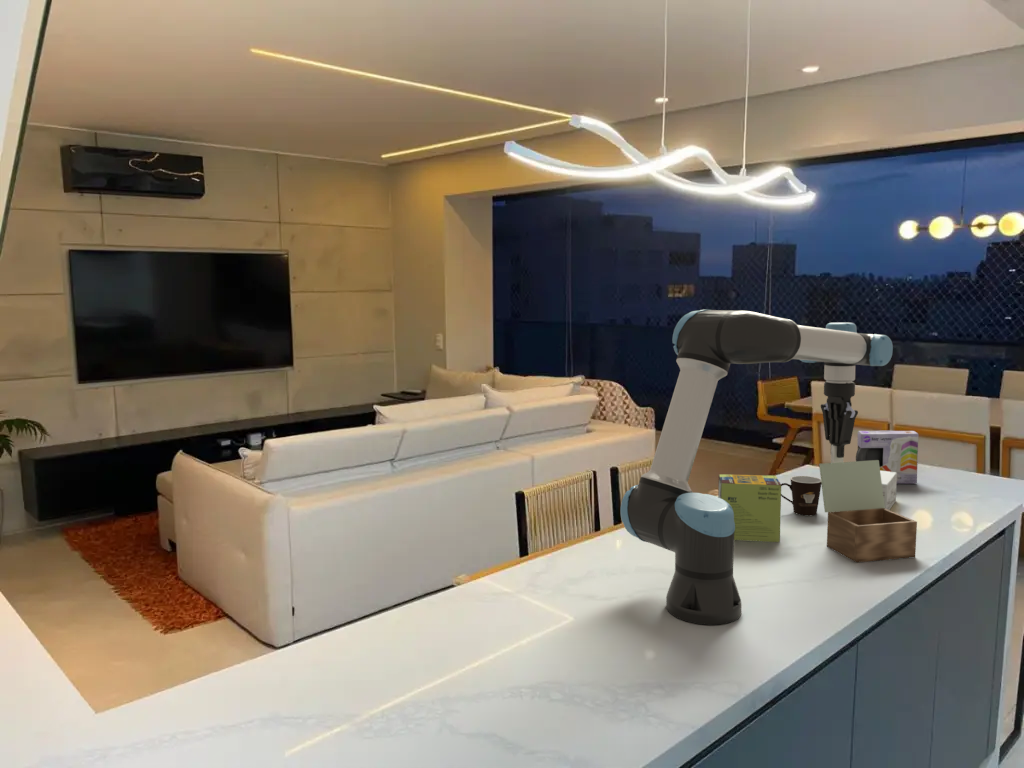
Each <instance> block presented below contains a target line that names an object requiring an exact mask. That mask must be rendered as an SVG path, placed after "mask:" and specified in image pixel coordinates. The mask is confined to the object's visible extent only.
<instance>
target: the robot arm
mask: <svg viewBox="0 0 1024 768" xmlns="http://www.w3.org/2000/svg"><path fill="white" fill-rule="evenodd" d="M671 341H672V344H674V345H673V346H672V347H673V350H674V352H675V354H676V355H677V357H676V360H675V361H676V363H677V365H678V367H679V370H680V371H679V374H678V377H677V380H676V384H675V387H674V390H673V393H672V397H671V400H670V404H669V406H668V411H667V413H666V416H665V420H664V423H663V426H662V428H661V429H662V430H661V433H660V437H659V439H658V443H657V445H656V446H657V447H656V449H655V453H654V456H653V459H652V463H651V466H650V469H649V470H648V471H647V472H645V473H643V474H641V476H640V479H639V482H638V484H635V485H633V486H631V487H630V488H629V490H626V492H625V493H624V495H623V497H622V499H621V503H620V518H621V522H622V523H623V526H624V529H625V530H626V531H627V532H628V533H629V534H630V535H631V536H633V537H635V538H638V539H639V541H641V542H645V543H649V544H652V545H655V546H656V547H659V548H662V549H665V550H667V551H671V552H673V553H674V563H675V565H674V567H675V568H674V574H673V576H672V579H671V582H670V585H669V588H668V591H667V593H666V598H665V599H666V600H665V604H666V605H665V606H666V607H665V608H666V610H667V612H668V613H669V614H670V615H672V616H674V617H676V618H677V619H680V620H682V621H685V622H688V623H691V624H698V625H706V626H707V625H709V626H711V625H714V626H715V625H725V624H729V623H732V622H734V621H736V620H738V619H739V618H740V617H741V616H742V599H741V596H740V593H739V591H738V587H737V583H736V581H735V580H736V579H735V578H734V556H735V555H734V552H735V540H734V531H735V523H734V512H733V509H732V507H731V506H730V504H729V503H727V502H726V501H725V500H723V499H721V498H719V497H718V496H716V495H713V494H708V493H701V492H693V490H692V489H691V487H690V484H689V480H690V476H691V473H692V469H693V466H694V462H695V459H696V456H697V453H698V449H699V446H700V442H701V438H702V436H703V432H704V428H705V426H706V422H707V419H708V415H709V412H710V408H711V407H712V403H713V398H714V396H715V392H716V389H717V386H718V381H719V380H721V379H723V378H725V377H726V376H728V373H729V370H730V366H731V364H736V365H743V364H744V365H751V364H764V363H765V364H767V363H787V362H789V361H791V360H799V361H801V362H802V363H807V364H809V363H811V364H815V363H824V369H823V372H824V374H823V379H824V380H825V381H824V383H823V394H824V396H825V397H827V398H826V402H825V403H821V404H820V409H821V412H822V420H823V427H824V437H825V440H826V441H829V444H830V463H839V462H844V457H845V446H847V445H851V442H852V437H853V432H854V426H855V422H856V421H855V420H856V418H857V417H858V413H859V411H858V410H856V409H854V408H853V407H852V400H851V399H852V397H854V396H855V392H856V383H855V382H854V381H855V380H856V365H857V366H859V365H860V366H870V367H883V366H884V367H885V366H886V365H887V364H888V363H889V362H890V361H891V360H892V359H891V358H892V356H893V349H894V348H893V347H894V346H893V342H892V339H891V338H890V337H889V336H888V335H886V334H877V333H874V334H873V333H862V332H858V331H857V325H856V324H855V323H854V322H829V323H827V324H826V325H825V328H824V327H815V326H809V325H800V324H797V323H796V322H795V321H794V320H792V319H788V318H784V317H779V316H774V315H769V314H765V313H761V312H760V313H759V312H755V311H752V310H751V311H750V310H741V309H740V310H738V309H737V310H732V309H731V310H729V309H728V310H727V309H725V310H723V309H721V310H719V309H718V310H716V309H709V308H707V309H704V308H703V309H700V310H692V311H690V312H687V313H686V314H684V315H683V316H682V317H681V318H680V319H679V321H678V322H677V323H676V325H675V327H674V329H673V334H672V340H671Z"/></svg>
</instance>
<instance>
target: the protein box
mask: <svg viewBox="0 0 1024 768" xmlns="http://www.w3.org/2000/svg"><path fill="white" fill-rule="evenodd" d="M781 484H782V483H781V482H780V480H779V479H778V477H777V475H762V474H761V475H759V474H755V475H754V474H718V495H717V497H719V498H721V499H723V500H725V501H726V502H727V503H729V504H730V506H731V507H732V509H733V512H734V523H735V531H734V541H744V542H745V541H746V542H761V541H762V542H764V543H780V542H781V512H782V511H781V510H782V509H781V508H782V505H781V504H782V496H781V494H782V486H781ZM762 542H761V543H762Z"/></svg>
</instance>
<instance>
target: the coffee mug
mask: <svg viewBox="0 0 1024 768" xmlns="http://www.w3.org/2000/svg"><path fill="white" fill-rule="evenodd" d="M780 484H781V487H783V486H787V487H789V489H790V491H791V498H792V500H791V499H789V498H788V497H786V496H785V495H784V494H782V493H781V498H783V499H785V500H786V501H787V502H789V503H791V505H792V508H793V509H792V511H793V513H794V512H795V513H794V514H796V513H797V514H796V515H799V514H800V515H799V516H805V515H808V516H809V517H811V516H810V515H812V516H816V515H817V513H818V508H819V501H820V494H821V491H822V484H821V478H819V477H815V476H811V475H810V476H809V475H794V476H791V477H790V484H789V483H786V482H783V483H780ZM808 516H807V517H808Z"/></svg>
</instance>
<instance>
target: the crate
mask: <svg viewBox="0 0 1024 768" xmlns="http://www.w3.org/2000/svg"><path fill="white" fill-rule="evenodd" d="M917 526H918V521H916V520H914V519H911V518H909V517H907V516H904V515H902V514H900V513H897V512H894V511H893V510H891V509H890V510H888V509H885V508H878V509H865V510H851V511H838V512H827V529H826V530H827V532H826V547H827V548H828V549H831V550H832V549H833V551H834V550H835V551H834V552H836V553H838V554H840V555H841V554H842V555H841V556H843V557H845V558H847V559H848V560H851V561H852V562H854V563H855V564H857V563H867V562H868V563H869V562H879V561H880V560H881V561H889V559H892V560H900V559H899V558H903V559H910V558H909V557H914V558H916V550H917V549H916V548H917V531H918V530H917Z"/></svg>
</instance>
